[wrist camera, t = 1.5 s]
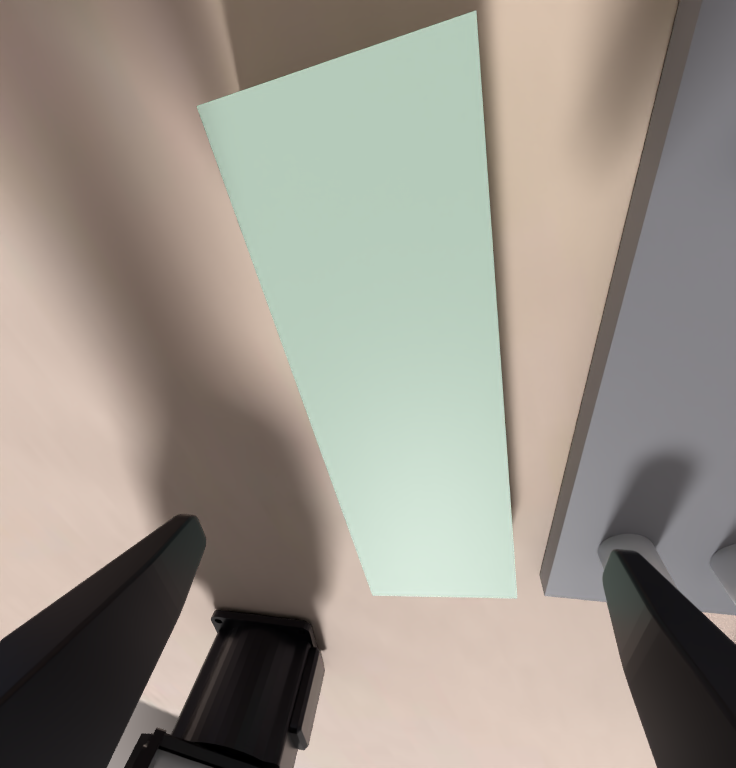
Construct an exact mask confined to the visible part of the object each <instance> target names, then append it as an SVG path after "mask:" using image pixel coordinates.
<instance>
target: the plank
mask: <svg viewBox="0 0 736 768" xmlns="http://www.w3.org/2000/svg"><path fill="white" fill-rule="evenodd" d="M197 109H198V112H199V114H200V117H201V120H202V123H203V126H204V128H205V131H206V134H207V137H208V139H209V142H210V145H211V148H212V151H213V153H214V156H215V159H216V162H217V164H218V167H219V170H220V173H221V176H222V178H223V181H224V184H225V187H226V189H227V192H228V195H229V198H230V201H231V203H232V206H233V209H234V212H235V215H236V217H237V220H238V223H239V226H240V228H241V231H242V234H243V237H244V240H245V242H246V245H247V248H248V251H249V253H250V256H251V259H252V262H253V265H254V267H255V270H256V273H257V276H258V278H259V281H260V284H261V287H262V290H263V292H264V295H265V298H266V301H267V303H268V306H269V309H270V312H271V315H272V317H273V320H274V323H275V326H276V328H277V331H278V334H279V337H280V340H281V342H282V345H283V348H284V351H285V354H286V356H287V359H288V362H289V365H290V367H291V370H292V373H293V376H294V379H295V381H296V384H297V387H298V390H299V392H300V395H301V398H302V401H303V404H304V406H305V409H306V412H307V415H308V417H309V420H310V423H311V426H312V429H313V431H314V434H315V437H316V440H317V442H318V445H319V448H320V451H321V454H322V456H323V459H324V462H325V465H326V467H327V470H328V473H329V476H330V479H331V481H332V484H333V487H334V490H335V493H336V495H337V498H338V501H339V504H340V506H341V509H342V512H343V515H344V518H345V520H346V523H347V526H348V529H349V531H350V534H351V537H352V540H353V543H354V545H355V548H356V551H357V554H358V556H359V559H360V562H361V565H362V568H363V570H364V573H365V576H366V579H367V581H368V584H369V587H370V590H371V593H372V595H373V596H421V597H470V598H517V587H516V572H515V558H514V544H513V529H512V515H511V501H510V486H509V472H508V458H507V443H506V429H505V415H504V400H503V386H502V372H501V357H500V343H499V329H498V314H497V300H496V286H495V271H494V257H493V243H492V228H491V214H490V200H489V185H488V171H487V157H486V142H485V128H484V114H483V99H482V85H481V71H480V56H479V42H478V28H477V13H476V11H473V12H470V13H467V14H464V15H461V16H458V17H455V18H452V19H449V20H446V21H443V22H440V23H438V24H435V25H432V26H429V27H426V28H423V29H420V30H417V31H414V32H411V33H408V34H405V35H403V36H400V37H397V38H394V39H391V40H388V41H385V42H382V43H379V44H376V45H373V46H370V47H368V48H365V49H362V50H359V51H356V52H353V53H350V54H347V55H344V56H341V57H338V58H335V59H332V60H330V61H327V62H324V63H321V64H318V65H315V66H312V67H309V68H306V69H303V70H300V71H297V72H295V73H292V74H289V75H286V76H283V77H280V78H277V79H274V80H271V81H268V82H265V83H262V84H260V85H257V86H254V87H251V88H248V89H245V90H242V91H239V92H236V93H233V94H230V95H227V96H224V97H222V98H219V99H216V100H213V101H210V102H207V103H204V104H201V105H198V106H197Z"/></svg>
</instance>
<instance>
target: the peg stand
mask: <svg viewBox="0 0 736 768" xmlns="http://www.w3.org/2000/svg"><path fill="white" fill-rule="evenodd" d="M614 549H624V550H633V551H636V552H638V553H640V554H641V555H642V556H643V557H644V558H645V559H646V560H647V561H648V562H649V563H650V564H651V565H653V566H654V567H655V568H656V569H657V570H658V571H659V572H660V573H661V574H662V575H663V576H664V577H665V578H666V579H667V580H668V581H669V582H670V583H671V584H673V585H674V586H675V587H676V588H677V589H678V590H679V591H680V592H681V593H682V594H683V595H684V596H685V597H686V598H687V599H688V600H689V601H690V602H692V603H693V604H694V605H695V606H696V607H697V608H698V609H699V610H700V611H701V612H708V613H718V614H727V615H736V0H680V1H679V5H678V10H677V14H676V18H675V22H674V26H673V30H672V34H671V38H670V42H669V47H668V51H667V55H666V59H665V63H664V67H663V71H662V75H661V79H660V83H659V88H658V92H657V96H656V100H655V104H654V108H653V112H652V116H651V120H650V125H649V129H648V133H647V137H646V141H645V145H644V149H643V153H642V157H641V161H640V166H639V170H638V174H637V178H636V182H635V186H634V190H633V194H632V198H631V203H630V207H629V211H628V215H627V219H626V223H625V227H624V231H623V235H622V240H621V244H620V248H619V252H618V256H617V260H616V264H615V268H614V272H613V276H612V281H611V285H610V289H609V293H608V297H607V301H606V305H605V309H604V313H603V318H602V322H601V326H600V330H599V334H598V338H597V342H596V346H595V350H594V354H593V359H592V363H591V367H590V371H589V375H588V379H587V383H586V387H585V391H584V396H583V400H582V404H581V408H580V412H579V416H578V420H577V424H576V428H575V432H574V437H573V441H572V445H571V449H570V453H569V457H568V461H567V465H566V469H565V474H564V478H563V482H562V486H561V490H560V494H559V498H558V502H557V506H556V510H555V515H554V519H553V523H552V527H551V531H550V535H549V539H548V543H547V547H546V552H545V556H544V560H543V564H542V568H541V572H540V579H541V583H542V587H543V591H544V595H545V596H552V597H561V598H571V599H581V600H591V601H600V602H607V601H606V597H605V592H604V588H603V582H602V576H603V572H604V569H605V566H606V564H607V561H608V558H609V556H610V553H611V551H612V550H614Z"/></svg>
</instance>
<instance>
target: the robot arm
mask: <svg viewBox="0 0 736 768" xmlns="http://www.w3.org/2000/svg"><path fill="white" fill-rule="evenodd" d="M205 546H206V537H205V534H204V532H203V529H202V527H201V525H200V522H199V520H198V518H197V517H196V516H195V515H187V514H179V515H177V516H175V517H173V518H172V519H170V520H169V521H168V522H166V523H165V524H163V525H162V526H161V527H159V528H158V529H156V530H155V531H154V532H152V533H151V534H149V535H148V536H147V537H145V538H144V539H142V540H141V541H139V542H138V543H137V544H135V545H134V546H132V547H131V548H130V549H128V550H127V551H125V552H124V553H123V554H121V555H120V556H118V557H117V558H116V559H114V560H113V561H111V562H110V563H109V564H107V565H106V566H104V567H103V568H102V569H100V570H99V571H97V572H96V573H94V574H93V575H92V576H90V577H89V578H87V579H86V580H85V581H83V582H82V583H80V584H79V585H78V586H76V587H75V588H73V589H72V590H71V591H69V592H68V593H66V594H65V595H64V596H62V597H61V598H59V599H58V600H57V601H55V602H54V603H52V604H51V605H50V606H48V607H47V608H45V609H44V610H42V611H41V612H40V613H38V614H37V615H35V616H34V617H33V618H31V619H30V620H28V621H27V622H26V623H24V624H23V625H21V626H20V627H19V628H17V629H16V630H14V631H13V632H12V633H10V634H9V635H7V636H6V637H4V638H3V639H2V640H1V641H0V768H107V766H108V764H109V762H110V760H111V758H112V755H113V753H114V751H115V749H116V747H117V745H118V743H119V741H120V739H121V736H122V735H123V733H124V730H125V728H126V726H127V724H128V722H129V720H130V718H131V716H132V714H133V712H134V709H135V708H136V705H137V703H138V701H139V699H140V697H141V695H142V693H143V691H144V689H145V687H146V685H147V683H148V681H149V678H150V676H151V674H152V672H153V670H154V668H155V666H156V664H157V662H158V660H159V658H160V656H161V654H162V651H163V649H164V647H165V645H166V643H167V641H168V639H169V637H170V635H171V633H172V631H173V629H174V626H175V624H176V622H177V620H178V618H179V616H180V613H181V611H182V608H183V606H184V603H185V601H186V598H187V595H188V593H189V590H190V587H191V585H192V582H193V579H194V577H195V574H196V571H197V569H198V566H199V563H200V561H201V558H202V555H203V553H204V550H205ZM602 582H603V588H604V592H605V597H606V601H607V605H608V609H609V613H610V617H611V621H612V626H613V630H614V634H615V638H616V642H617V646H618V651H619V655H620V659H621V662H622V666H623V670H624V673H625V676H626V679H627V682H628V686H629V688H630V691H631V694H632V697H633V700H634V703H635V706H636V708H637V711H638V714H639V717H640V720H641V723H642V726H643V728H644V731H645V734H646V737H647V740H648V743H649V746H650V748H651V751H652V754H653V757H654V760H655V763H656V766H657V768H736V644H735V643H734V642H733V641H732V640H730V639H729V638H728V637H727V636H726V635H725V634H724V633H723V632H722V631H721V630H720V629H719V628H718V627H717V626H716V625H715V624H714V623H713V622H712V621H710V620H709V619H708V618H707V617H706V616H705V615H704V614H703V613H702V612H701V611H700V610H699V609H698V608H697V607H696V606H695V605H694V604H693V603H692V602H690V601H689V600H688V599H687V598H686V597H685V596H684V595H683V594H682V593H681V592H680V591H679V590H678V589H677V588H676V587H675V586H674V585H673V584H671V583H670V582H669V581H668V580H667V579H666V578H665V577H664V576H663V575H662V574H661V573H660V572H659V571H658V570H657V569H656V568H655V567H654V566H653V565H651V564H650V563H649V562H648V561H647V560H646V559H645V558H644V557H643V556H642V555H641V554H640V553H638V552H636V551H633V550H624V549H614V550H612V551H611V553H610V556H609V558H608V561H607V564H606V566H605V569H604V572H603V576H602ZM211 621H212V623H213V625H214V627H215V629H216V631H217V636H216V638H215V640H214V642H213V644H212V646H211V649H210V651H209V653H208V655H207V657H206V659H205V662H204V664H203V666H202V668H201V670H200V672H199V675H198V677H197V679H196V681H195V683H194V685H193V688H192V690H191V692H190V694H189V696H188V698H187V701H186V703H185V705H184V707H183V709H182V711H181V714H180V716H179V718H178V720H177V723H176V725H175V727H174V729H173V731H172V733H171V735H170V734H167V733H166V730H163V729H160V728H156V730H155V732H154V734H152V733H151V734H141V736H140V738H139V740H138V742H137V744H136V746H135V747H134V750H133V752H132V753H131V755H130V757H129V760H128V761H127V763H126V765H125V767H124V768H294V764H295V759H296V755H297V751H298V749H300V750H305V749H306V748H307V747H308V745H309V741H310V736H311V731H312V727H313V722H314V718H315V713H316V709H317V704H318V700H319V695H320V690H321V686H322V681H323V677H324V672H325V669H324V665H323V661H322V657H321V653H320V651H319V649H318V648H317V645H316V641H315V637H314V633H313V629H312V626H311V624H309V623H308V622H306V621H301V620H293V619H285V618H277V617H269V616H261V615H253V614H245V613H237V612H229V611H221V610H216V611H214V613H213V615H212V617H211Z"/></svg>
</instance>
